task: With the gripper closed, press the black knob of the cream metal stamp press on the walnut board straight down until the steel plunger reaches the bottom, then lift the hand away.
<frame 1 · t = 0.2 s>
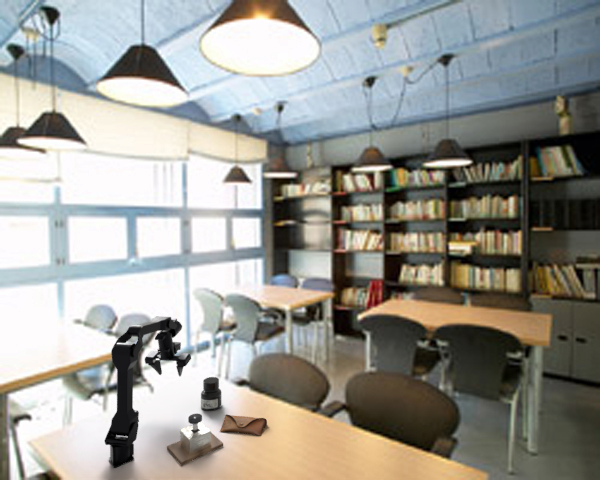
hand: (170, 375, 157), 15 cm above the table, tool pointing down, fingers open, 9 cm apart
ink bottle: (211, 406, 161), on the table
sunglasses case: (243, 430, 144), on the table
plunger: (195, 425, 131), point 8 cm above the table, slide at 0.0 cm
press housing: (195, 437, 131), on the walnut board, point 4 cm above the table
walnut board: (195, 447, 131), on the table
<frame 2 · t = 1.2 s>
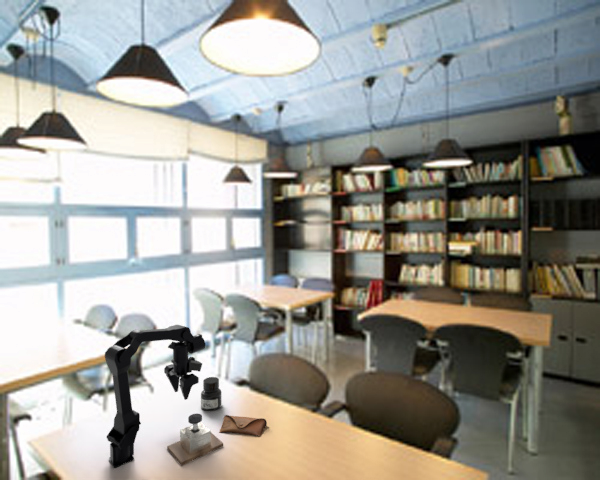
hand: (181, 395, 144), 13 cm above the table, tool pointing down, fingers open, 8 cm apart
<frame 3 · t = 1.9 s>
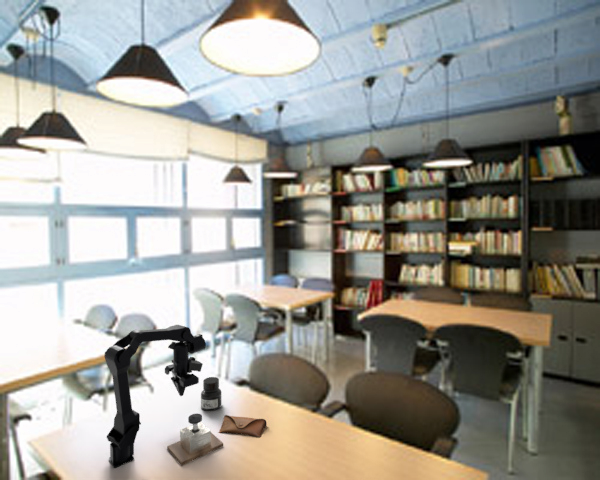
hand: (181, 395, 144), 13 cm above the table, tool pointing down, fingers closed
nothing on the table moved.
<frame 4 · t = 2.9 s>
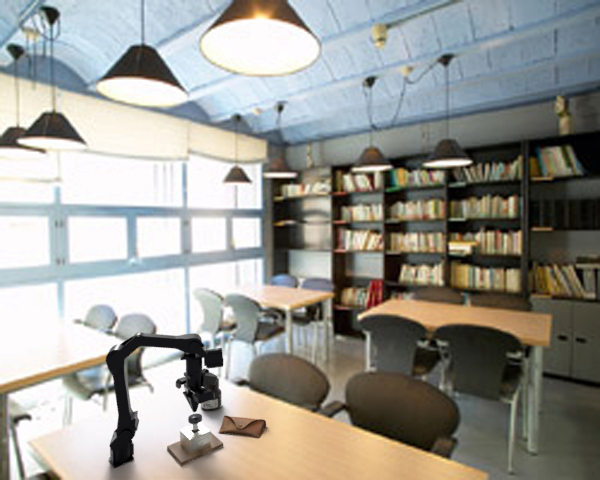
hand: (194, 411, 131), 13 cm above the table, tool pointing down, fingers closed
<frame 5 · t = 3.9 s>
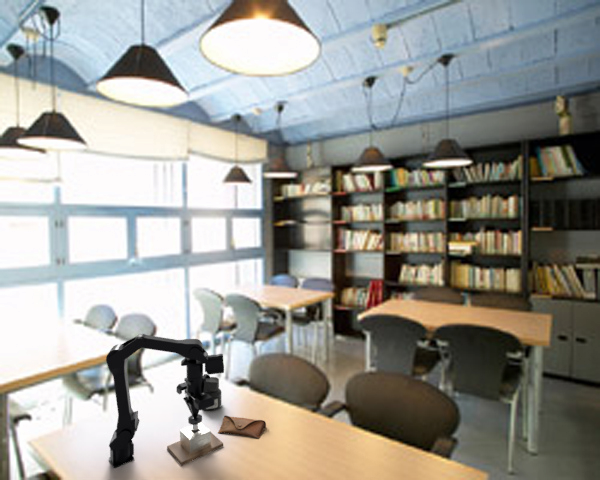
hand: (195, 417, 131), 11 cm above the table, tool pointing down, fingers closed, pressing on plunger
plunger: (195, 425, 131), point 8 cm above the table, slide at 0.2 cm, touching gripper
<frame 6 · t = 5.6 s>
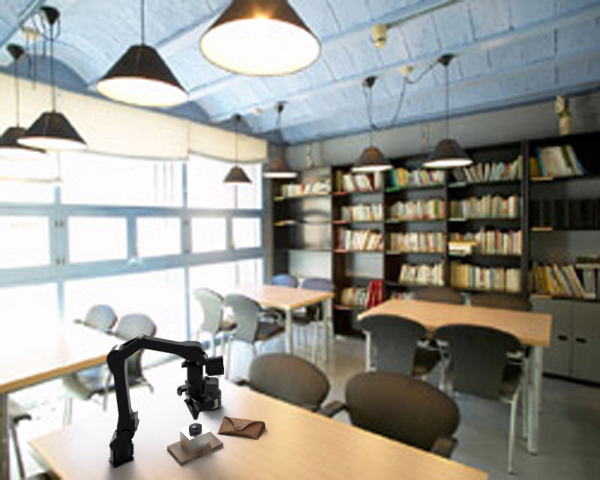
hand: (195, 419, 131), 11 cm above the table, tool pointing down, fingers closed
plunger: (195, 434, 131), point 5 cm above the table, slide at 3.6 cm
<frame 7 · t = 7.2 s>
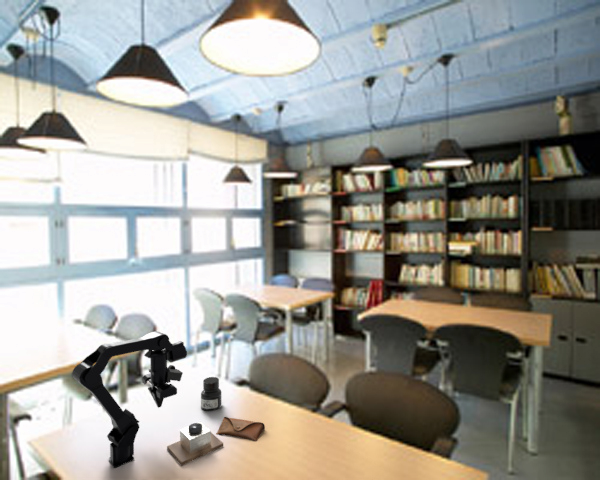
hand: (159, 406, 135), 13 cm above the table, tool pointing down, fingers closed
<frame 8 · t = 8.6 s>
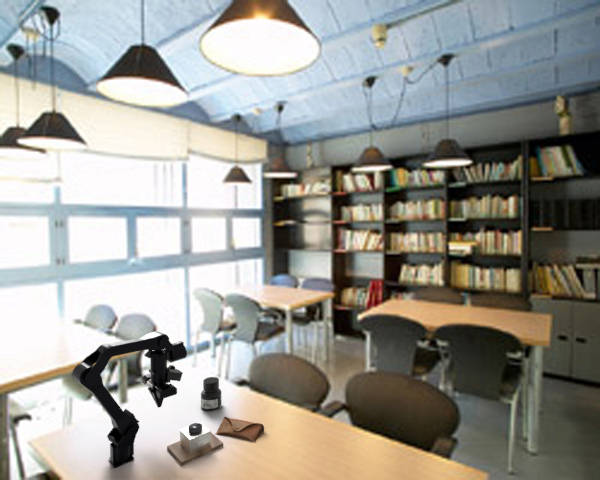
hand: (159, 406, 135), 13 cm above the table, tool pointing down, fingers closed
at the end: plunger slide at 3.6 cm; the gripper is holding nothing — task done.
